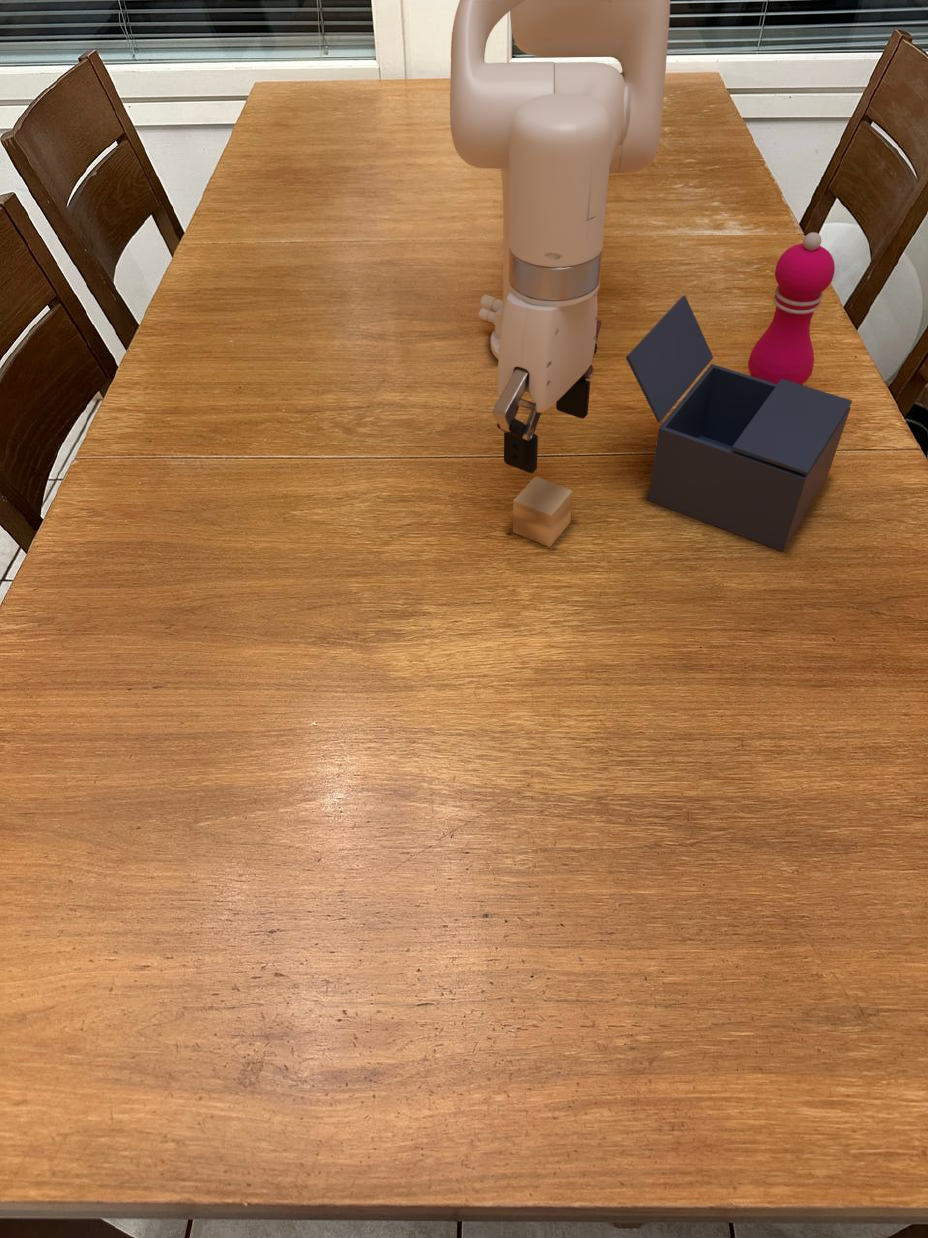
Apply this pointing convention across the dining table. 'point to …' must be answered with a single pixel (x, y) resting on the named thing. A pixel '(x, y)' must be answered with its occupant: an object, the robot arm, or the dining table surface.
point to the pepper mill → (793, 313)
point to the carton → (747, 453)
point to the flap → (670, 358)
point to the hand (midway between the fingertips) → (546, 439)
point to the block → (542, 511)
